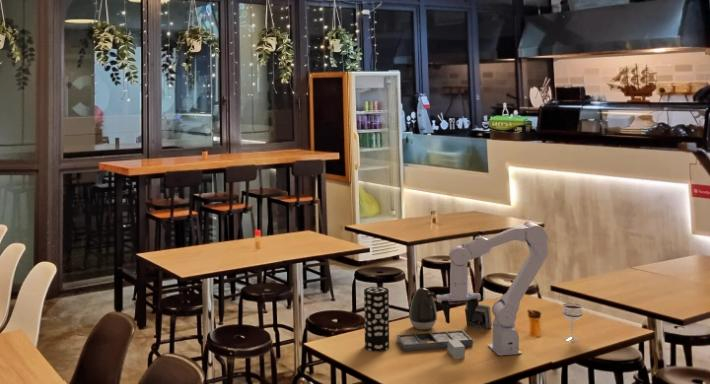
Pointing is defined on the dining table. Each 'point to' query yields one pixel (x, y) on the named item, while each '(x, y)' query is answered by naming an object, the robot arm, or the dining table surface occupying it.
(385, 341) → the spotted tube
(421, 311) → the dark egg shaped ornament
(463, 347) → the grey rectangular block
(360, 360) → the dining table surface
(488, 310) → the electrical switch
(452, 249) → the robot arm
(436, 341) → the rack
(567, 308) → the wineglass
